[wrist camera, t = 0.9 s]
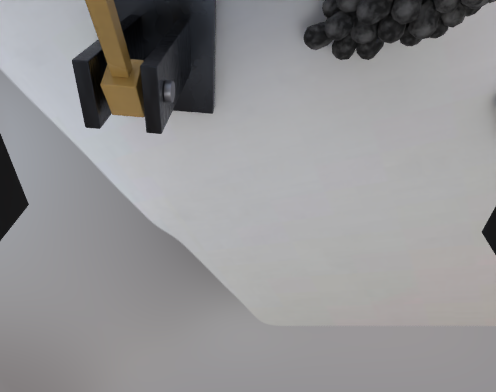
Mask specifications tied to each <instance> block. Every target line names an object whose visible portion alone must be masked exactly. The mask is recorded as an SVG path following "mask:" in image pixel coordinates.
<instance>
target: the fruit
mask: <svg viewBox="0 0 496 392" xmlns="http://www.w3.org/2000/svg"><path fill="white" fill-rule="evenodd" d="M494 1H496V0H325V1H324V2H323V7H322V10H323V12H324V15H325V16H326V17H327V20H326V22H322V23H318V24H315V25H312V26H310V27H308V28H307V29H306V32H305V34H304V42H305V44H306V45H307V46H308V47H309V48H311V49H314V50H317V49H320V48H322V47H324V46H327V45H328V44H329V43H330V42H332V40H335V41H334V43H333V44H332V53H333V54H334V56H335V57H336V58H338V59H340V60H344V59H349V58H350V57H351V56H352V55H353V53H354V51H355V49H356V51H357V54H358V55H359V56H360V57H361V58H363V59H367V60H369V59H371V58H373V57H374V56H375V55H376V54H377V53H378V52H379V50H380V49H381V48H382V47H383V46H384V42H386V43H393V42H395V41H398V40H399V39H400V42H401V43H402V44H404V45H406V46H413V45H416V44H418V43H419V42H420V41H421V40H422V39H425V38H429V37H430V38H438V37H440V36H442V35H444V34H445V32H446V31H447V30H448V26H449V27H454V26H456V25H458V24H460V23H462V21H463V20H464V18H465V16H470V15H473V14H475V13H476V12H477V11H478V10H479V9H480V8H481V7H482V6H484V5H485V4H487V3H491V2H494Z"/></svg>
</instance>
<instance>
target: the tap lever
mask: <svg viewBox="0 0 496 392" xmlns="http://www.w3.org/2000/svg"><path fill="white" fill-rule="evenodd" d="M85 1H86V4H87V7H88V10H89V13H90V16H91V19H92V21H93V24H94V27H95V30H96V33H97V36H98V38H99V41H100V44H101V47H102V50H103V53H104V56H105V58H106V61H107V67H106V70H105V72H104V75H103V78H102V81H101V84H100V85H101V88H102V90H103V93H104V95H105V98H106V100H107V103H108V105H109V108H110V110H111V113H112V115H122V116H134V117H145V111H144V101H143V91H142V82H141V72H140V65H141V64H142V63H143V62H144V61H143V60H135V59H130V56H129V53H128V49H127V46H126V42H125V39H124V35H123V32H122V28H121V24H120V21H119V17H118V14H117V10H116V7H115V3H114V0H85Z"/></svg>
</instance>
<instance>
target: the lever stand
mask: <svg viewBox="0 0 496 392" xmlns="http://www.w3.org/2000/svg"><path fill="white" fill-rule="evenodd" d="M114 3H115V7H116V10H117V14H118V17H119V21H120V24H121V28H122V32H123V35H124V39H125V42H126V46H127V49H128V53H129V56H130V59H135V60H143V61H144V62H143V63H142V64H141V65H140V72H141V82H142V91H143V101H144V111H145V121H146V131H147V133H157V134H162V132H163V130H164V127H165V125H166V123H167V121H168V119H169V117H170V115H171V113H172V111H173V110H175V111H187V112H200V113H212V114H213V111H214V94H215V29H216V0H114ZM72 64H73V69H74V74H75V79H76V83H77V88H78V93H79V98H80V103H81V108H82V113H83V118H84V122H85V127H86V128H98V129H100V128H101V127H102V125H103V124H104V123H105V122H106V120H107V119H108V118H109V116H110V115H111V114H112V113H111V110H110V108H109V105H108V103H107V100H106V98H105V95H104V93H103V90H102V88H101V85H100V84H101V81H102V78H103V75H104V72H105V70H106V67H107V61H106V58H105V56H104V53H103V50H102V47H101V44H100V41H99V39H98V40H97V41H96V42H94V43H93V44H92V45H91V46H89V47H88V48H87V49H85V50H84V51H83V52H82V53H80V54H79V55H78V56H77V57H75V58H74V59H73V60H72Z"/></svg>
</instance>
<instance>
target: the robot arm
mask: <svg viewBox="0 0 496 392" xmlns="http://www.w3.org/2000/svg"><path fill="white" fill-rule="evenodd" d="M28 205H29V204H28V202H27V199H26V197H25V194H24V192H23V189H22V187H21V184H20V182H19V179H18V177H17V174H16V172H15V169H14V167H13V164H12V162H11V159H10V157H9V154H8V152H7V149H6V147H5V144H4V142H3V139H2V137H1V134H0V241H1V239H2V238H3V237H4V235H5V234H6V233H7V232H8V230H9V229H10V228H11V227H12V225H13V224H14V223H15V222H16V220H17V219H18V218H19V216H20V215H21V214H22V213H23V211H24V210H25V209H26V208H27V206H28ZM482 233H483V235H484V237H485V238H486V240H487V242H488V243H489V245H490V246H491V248H492V250H493V251H494V253H495V255H496V207H495V209H494V210H493V212H492V214H491V216H490V218H489V220H488V221H487V223H486V225H485V227H484V229H483V230H482Z"/></svg>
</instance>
